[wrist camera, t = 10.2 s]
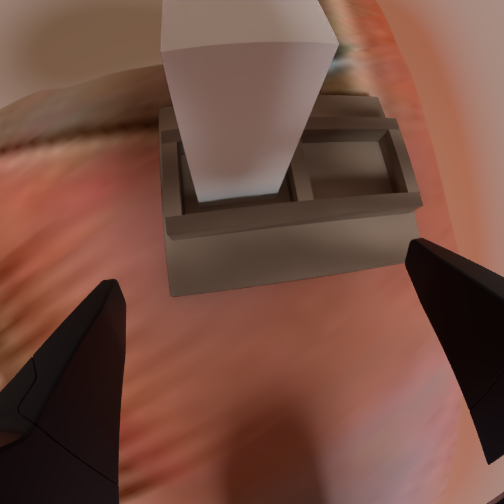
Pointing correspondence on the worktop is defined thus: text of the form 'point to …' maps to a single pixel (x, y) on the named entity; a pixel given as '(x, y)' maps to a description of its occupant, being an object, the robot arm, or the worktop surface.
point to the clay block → (243, 88)
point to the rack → (296, 206)
